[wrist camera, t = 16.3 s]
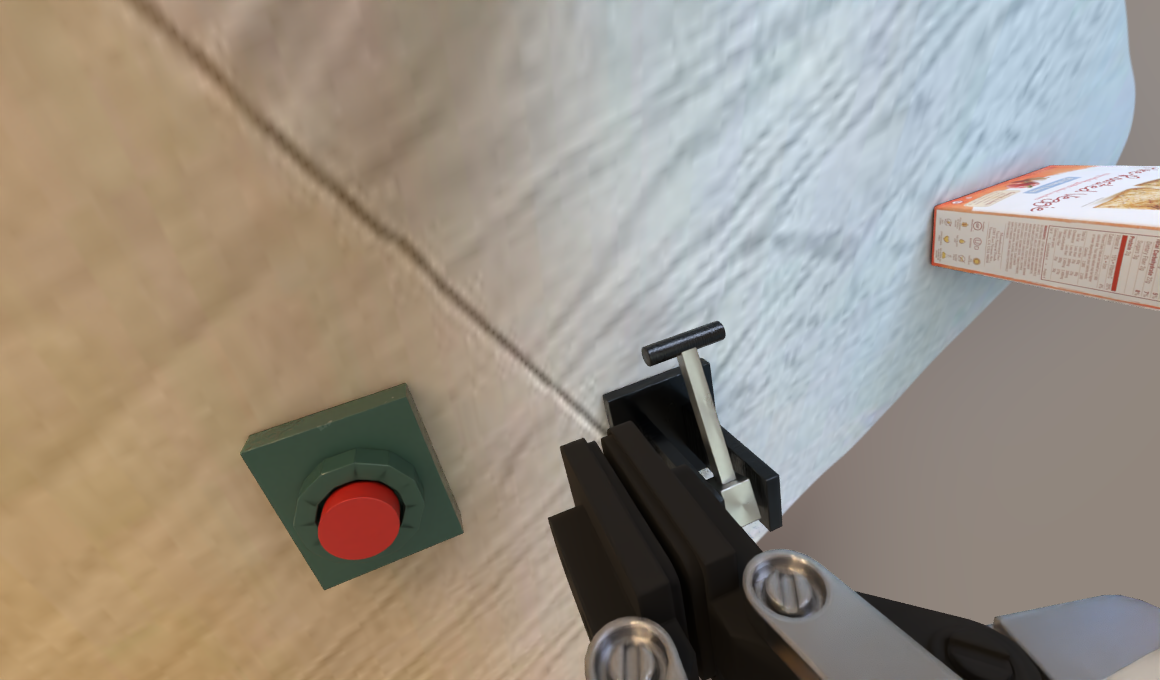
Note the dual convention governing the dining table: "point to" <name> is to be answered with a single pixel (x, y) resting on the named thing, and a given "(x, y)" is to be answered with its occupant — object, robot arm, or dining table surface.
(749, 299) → the dining table surface
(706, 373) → the switch bracket
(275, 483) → the button box
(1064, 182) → the cracker box
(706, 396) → the switch lever
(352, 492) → the red button
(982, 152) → the dining table surface
